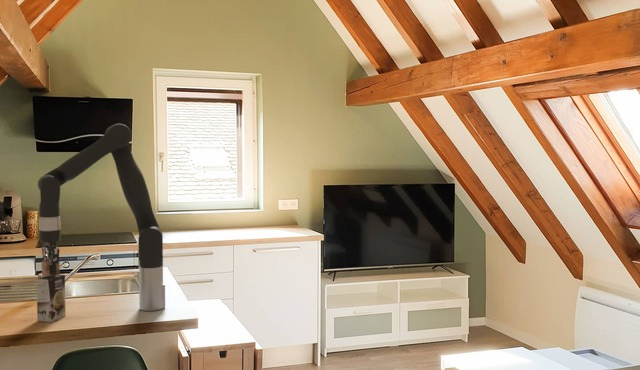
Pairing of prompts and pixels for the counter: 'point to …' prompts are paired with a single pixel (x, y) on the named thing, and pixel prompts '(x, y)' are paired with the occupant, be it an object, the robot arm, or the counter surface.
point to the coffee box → (50, 298)
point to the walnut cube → (47, 268)
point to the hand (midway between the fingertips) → (50, 273)
